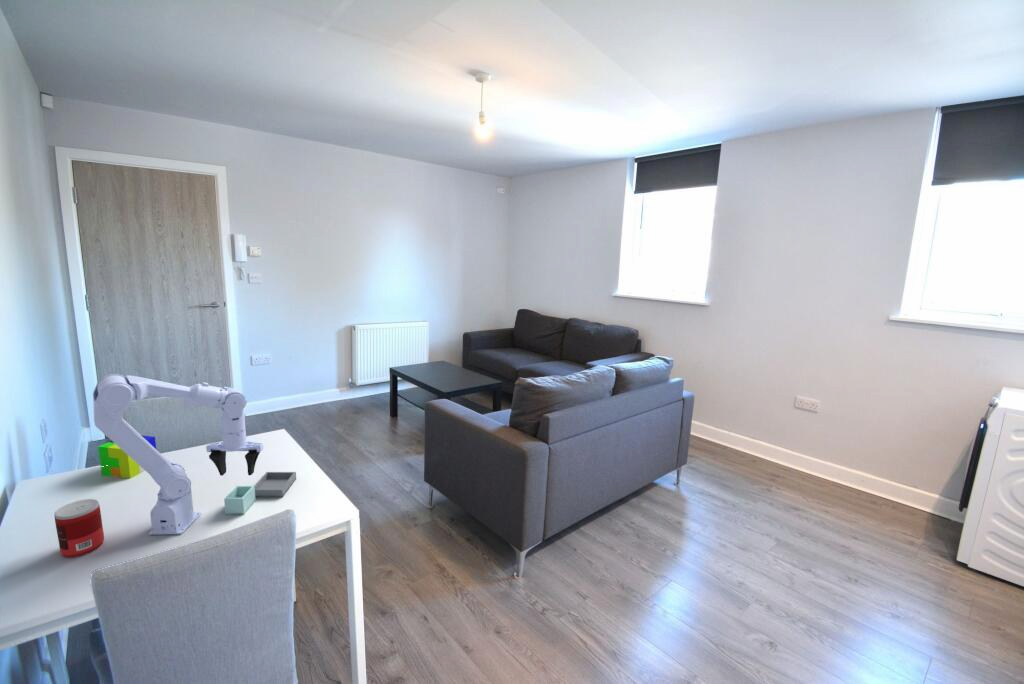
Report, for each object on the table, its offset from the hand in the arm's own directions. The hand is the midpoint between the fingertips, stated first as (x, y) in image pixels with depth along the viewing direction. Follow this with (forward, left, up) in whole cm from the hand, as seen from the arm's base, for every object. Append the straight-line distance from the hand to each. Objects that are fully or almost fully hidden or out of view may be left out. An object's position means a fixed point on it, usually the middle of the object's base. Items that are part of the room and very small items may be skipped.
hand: (237, 473), depth 131 cm
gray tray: (+9, -7, -10) cm, 14 cm away
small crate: (-2, -2, -10) cm, 10 cm away
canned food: (-19, +27, -10) cm, 35 cm away
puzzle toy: (+21, +43, -10) cm, 49 cm away
